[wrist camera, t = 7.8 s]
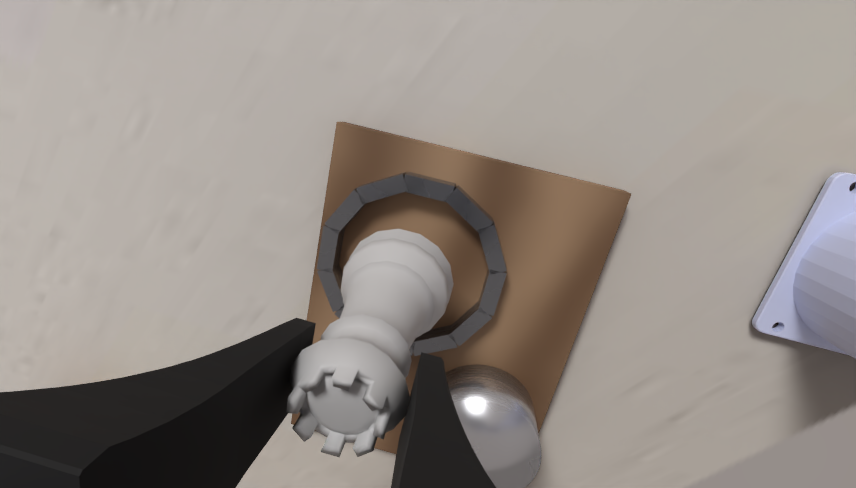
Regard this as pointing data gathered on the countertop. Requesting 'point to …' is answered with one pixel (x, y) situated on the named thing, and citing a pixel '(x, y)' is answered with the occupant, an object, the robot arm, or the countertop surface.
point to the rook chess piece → (370, 342)
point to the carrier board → (460, 244)
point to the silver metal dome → (497, 422)
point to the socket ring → (434, 190)
